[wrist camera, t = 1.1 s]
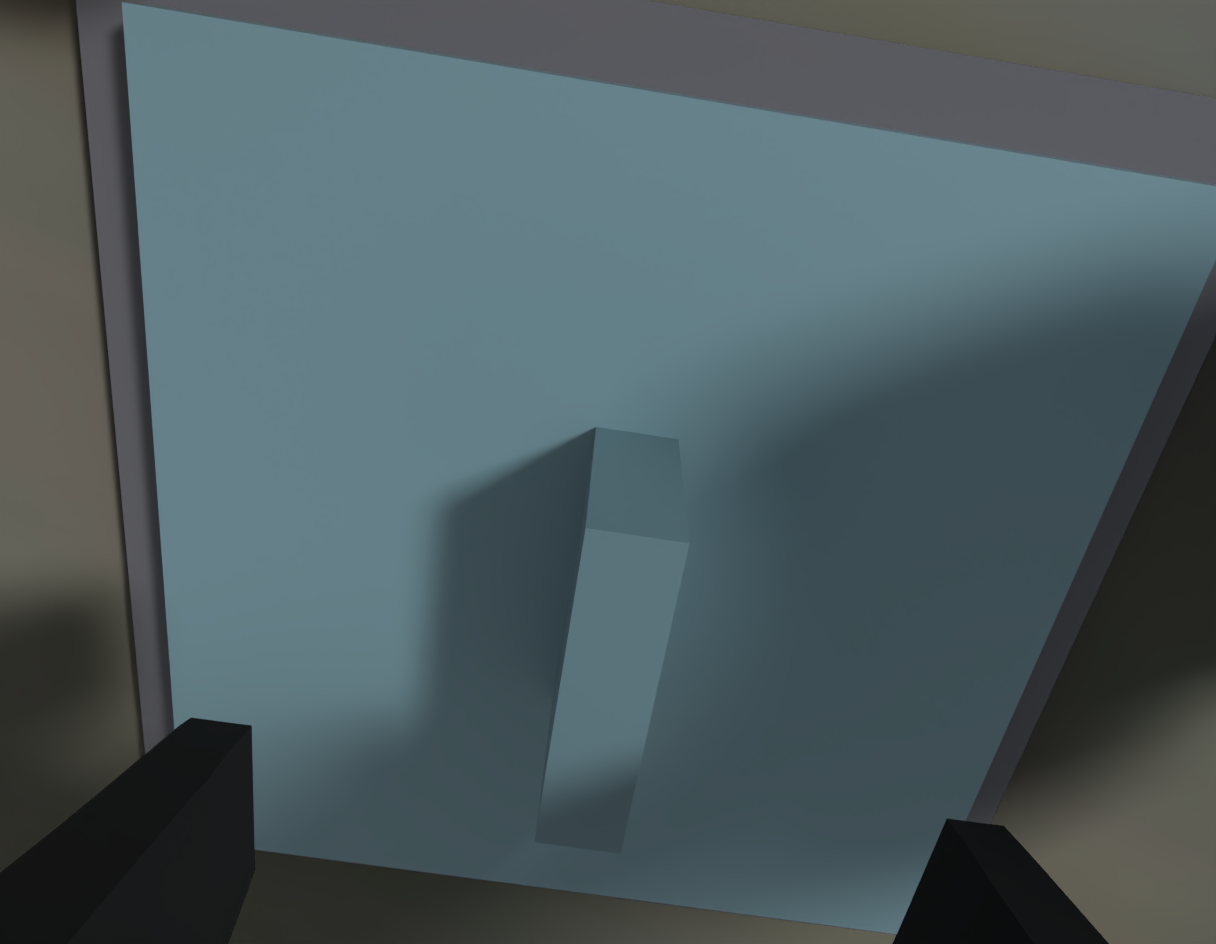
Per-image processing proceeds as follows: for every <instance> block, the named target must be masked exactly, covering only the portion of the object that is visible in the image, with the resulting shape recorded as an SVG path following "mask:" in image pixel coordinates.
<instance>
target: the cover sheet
mask: <svg viewBox="0 0 1216 944" xmlns="http://www.w3.org/2000/svg"><path fill="white" fill-rule="evenodd" d="M122 13H123V26H124V40H125V54H126V68H127V82H128V96H129V109H130V123H131V137H132V151H133V165H134V179H135V192H136V206H137V220H138V234H139V248H140V261H141V275H142V289H143V303H144V317H145V331H146V344H147V358H148V372H149V386H150V400H151V413H152V427H153V441H154V455H155V469H156V483H157V496H158V510H159V524H160V538H161V552H162V565H163V579H164V593H165V607H166V621H167V635H168V648H169V662H170V676H171V690H172V704H173V717H174V730H175V729H176V728H177V727H178V726H179V725H181V724H182V723H184V722H185V721H187V720H188V719H190V718H199V719H206V720H214V721H221V722H229V723H236V724H244V725H251V726H252V759H253V803H254V846H255V850H262V851H270V852H277V853H285V854H293V855H300V856H308V857H315V858H323V859H330V860H338V861H346V862H353V863H361V864H368V865H376V866H384V867H391V868H399V869H406V870H414V871H422V872H429V873H437V874H444V875H452V876H459V877H467V878H475V879H482V880H490V881H497V882H505V883H513V884H520V885H528V886H535V887H543V888H551V889H558V890H566V891H573V892H581V893H589V894H596V895H604V896H611V897H619V898H626V899H634V900H642V901H649V902H657V903H664V904H672V905H680V906H687V907H695V908H702V909H710V910H718V911H725V912H733V913H740V914H748V915H755V916H763V917H771V918H778V919H786V920H793V921H801V922H809V923H816V924H824V925H831V926H839V927H847V928H854V929H862V930H869V931H877V932H885V933H892V934H897V933H898V930H899V928H900V926H901V923H902V921H903V919H904V917H905V914H906V912H907V910H908V907H909V905H910V903H911V900H912V898H913V896H914V893H915V891H916V889H917V886H918V884H919V882H920V879H921V877H922V875H923V872H924V870H925V868H926V865H927V863H928V861H929V858H930V856H931V854H932V851H933V849H934V847H935V845H936V842H937V840H938V838H939V835H940V833H941V831H942V828H943V826H944V824H945V821H946V819H955V820H962V821H966V819H967V817H968V814H969V812H970V810H971V808H972V805H973V803H974V801H975V799H976V796H977V794H978V792H979V790H980V787H981V785H982V783H983V781H984V778H985V776H986V774H987V772H988V769H989V767H990V765H991V763H992V761H993V758H994V756H995V754H996V752H997V749H998V747H999V745H1000V743H1001V740H1002V738H1003V736H1004V734H1005V731H1006V729H1007V727H1008V725H1009V722H1010V720H1011V718H1012V716H1013V713H1014V711H1015V709H1016V707H1017V704H1018V702H1019V700H1020V698H1021V695H1022V693H1023V691H1024V689H1025V686H1026V684H1027V682H1028V680H1029V677H1030V675H1031V673H1032V671H1033V669H1034V666H1035V664H1036V662H1037V660H1038V657H1039V655H1040V653H1041V651H1042V648H1043V646H1044V644H1045V642H1046V639H1047V637H1048V635H1049V633H1050V630H1051V628H1052V626H1053V624H1054V621H1055V619H1056V617H1057V615H1058V612H1059V610H1060V608H1061V606H1062V603H1063V601H1064V599H1065V597H1066V594H1067V592H1068V590H1069V588H1070V585H1071V583H1072V581H1073V579H1074V577H1075V574H1076V572H1077V570H1078V568H1079V565H1080V563H1081V561H1082V559H1083V556H1084V554H1085V552H1086V550H1087V547H1088V545H1089V543H1090V541H1091V538H1092V536H1093V534H1094V532H1095V529H1096V527H1097V525H1098V523H1099V520H1100V518H1101V516H1102V514H1103V511H1104V509H1105V507H1106V505H1107V502H1108V500H1109V498H1110V496H1111V493H1112V491H1113V489H1114V487H1115V485H1116V482H1117V480H1118V478H1119V476H1120V473H1121V471H1122V469H1123V467H1124V464H1125V462H1126V460H1127V458H1128V455H1129V453H1130V451H1131V449H1132V446H1133V444H1134V442H1135V440H1136V437H1137V435H1138V433H1139V431H1140V428H1141V426H1142V424H1143V422H1144V419H1145V417H1146V415H1147V413H1148V410H1149V408H1150V406H1151V404H1152V401H1153V399H1154V397H1155V395H1156V393H1157V390H1158V388H1159V386H1160V384H1161V381H1162V379H1163V377H1164V375H1165V372H1166V370H1167V368H1168V366H1169V363H1170V361H1171V359H1172V357H1173V354H1174V352H1175V350H1176V348H1177V345H1178V343H1179V341H1180V339H1181V336H1182V334H1183V332H1184V330H1185V327H1186V325H1187V323H1188V321H1189V318H1190V316H1191V314H1192V312H1193V309H1194V307H1195V305H1196V303H1197V301H1198V298H1199V296H1200V294H1201V292H1202V289H1203V287H1204V285H1205V283H1206V280H1207V278H1208V276H1209V274H1210V271H1211V269H1212V267H1213V265H1214V262H1215V260H1216V184H1212V183H1208V182H1202V181H1196V180H1190V179H1184V178H1178V177H1172V176H1166V175H1160V174H1154V173H1148V172H1143V171H1137V170H1131V169H1125V168H1119V167H1113V166H1107V165H1101V164H1095V163H1089V162H1083V161H1077V160H1071V159H1065V158H1059V157H1054V156H1048V155H1042V154H1036V153H1030V152H1024V151H1018V150H1012V149H1006V148H1000V147H994V146H988V145H982V144H976V143H970V142H965V141H959V140H953V139H947V138H941V137H935V136H929V135H923V134H917V133H911V132H905V131H899V130H893V129H887V128H881V127H876V126H870V125H864V124H858V123H852V122H846V121H840V120H834V119H828V118H822V117H816V116H810V115H804V114H798V113H792V112H787V111H781V110H775V109H769V108H763V107H757V106H751V105H745V104H739V103H733V102H727V101H721V100H715V99H709V98H704V97H698V96H692V95H686V94H680V93H674V92H668V91H662V90H656V89H650V88H644V87H638V86H632V85H626V84H620V83H615V82H609V81H603V80H597V79H591V78H585V77H579V76H573V75H567V74H561V73H555V72H549V71H543V70H537V69H531V68H526V67H520V66H514V65H508V64H502V63H496V62H490V61H484V60H478V59H472V58H466V57H460V56H454V55H448V54H442V53H437V52H431V51H425V50H419V49H413V48H407V47H401V46H395V45H389V44H383V43H377V42H371V41H365V40H359V39H353V38H348V37H342V36H336V35H330V34H324V33H318V32H312V31H306V30H300V29H294V28H288V27H282V26H276V25H270V24H265V23H259V22H253V21H247V20H241V19H235V18H229V17H223V16H217V15H211V14H205V13H199V12H193V11H187V10H181V9H176V8H170V7H164V6H158V5H149V4H138V3H127V2H122Z"/></svg>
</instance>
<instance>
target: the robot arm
mask: <svg viewBox="0 0 1216 944" xmlns="http://www.w3.org/2000/svg"><path fill="white" fill-rule="evenodd" d="M254 871H255V846H254V803H253V759H252V726H251V725H244V724H236V723H229V722H221V721H214V720H206V719H199V718H190V719H188V720H187V721H185V722H184V723H182V724H181V725H179V726H178V727H177V728H176V729H175V730H173V731H172V732H171V733H170V734H169V735H167V736H166V737H165V738H164V739H163V740H161V741H160V742H159V743H158V744H157V745H155V746H154V747H153V748H152V749H151V750H150V751H148V752H147V753H146V754H145V755H144V756H142V757H141V758H140V759H139V760H138V761H137V762H135V763H134V764H133V765H132V766H131V767H129V768H128V769H127V770H126V771H125V772H124V773H122V774H121V775H120V776H119V777H118V778H116V779H115V780H114V781H113V782H112V783H110V784H109V785H108V786H107V787H106V788H104V789H103V790H102V791H101V792H100V793H98V794H97V795H96V796H95V797H94V798H92V799H91V800H90V801H89V802H88V803H86V804H85V805H84V806H83V807H82V808H80V809H79V810H78V811H77V812H76V813H74V814H73V815H72V816H71V817H69V818H68V819H67V820H66V821H65V822H63V823H62V824H61V825H60V826H58V827H57V828H56V829H55V830H53V831H52V832H51V833H50V834H48V835H47V836H46V837H45V838H43V839H42V840H41V841H40V842H38V843H37V844H36V845H35V846H33V847H32V848H31V849H30V850H28V851H27V852H26V853H25V854H23V855H22V856H21V857H20V858H18V859H17V860H16V861H14V862H13V863H12V864H11V865H9V866H8V867H7V868H6V869H4V870H3V871H2V872H1V873H0V944H228V942H229V940H230V937H231V934H232V932H233V929H234V926H235V924H236V921H237V918H238V915H239V913H240V910H241V907H242V904H243V901H244V899H245V896H246V893H247V890H248V887H249V885H250V882H251V879H252V876H253V874H254ZM893 944H1109V943H1108V942H1107V941H1106V940H1105V939H1104V938H1103V937H1102V935H1101V934H1100V933H1099V932H1098V931H1097V930H1096V929H1095V928H1094V926H1093V925H1092V924H1091V923H1090V922H1089V921H1088V920H1087V918H1086V917H1085V916H1084V915H1083V914H1082V913H1081V912H1080V910H1079V909H1078V908H1077V907H1076V906H1075V905H1074V904H1073V903H1072V901H1071V900H1070V899H1069V898H1068V897H1067V896H1066V895H1065V893H1064V892H1063V891H1062V890H1061V889H1060V888H1059V887H1058V885H1057V884H1056V883H1055V882H1054V881H1053V880H1052V879H1051V878H1050V876H1049V875H1048V874H1047V873H1046V872H1045V871H1044V870H1043V869H1042V867H1041V866H1040V865H1039V864H1038V863H1037V862H1036V861H1035V860H1034V858H1033V857H1032V856H1031V855H1030V854H1029V853H1028V852H1027V851H1026V850H1025V848H1024V847H1023V846H1022V845H1021V844H1020V843H1019V842H1018V841H1017V840H1016V839H1015V838H1014V837H1013V835H1012V834H1011V833H1010V832H1009V831H1008V830H1007V829H1006V828H1005V827H1004V826H1000V825H992V824H985V823H977V822H970V821H962V820H955V819H946V821H945V824H944V826H943V828H942V831H941V833H940V835H939V838H938V840H937V842H936V845H935V847H934V849H933V851H932V854H931V856H930V858H929V861H928V863H927V865H926V868H925V870H924V872H923V875H922V877H921V879H920V882H919V884H918V886H917V889H916V891H915V893H914V896H913V898H912V900H911V903H910V905H909V907H908V910H907V912H906V914H905V917H904V919H903V921H902V923H901V926H900V928H899V930H898V933H897V935H896V937H895V940H894V942H893Z"/></svg>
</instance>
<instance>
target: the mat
mask: <svg viewBox="0 0 1216 944" xmlns="http://www.w3.org/2000/svg"><path fill="white" fill-rule="evenodd" d="M122 2H127V3H138V4H149V5H158V6H164V7H170V8H176V9H181V10H187V11H193V12H199V13H205V14H211V15H217V16H223V17H229V18H235V19H241V20H247V21H253V22H259V23H265V24H270V25H276V26H282V27H288V28H294V29H300V30H306V31H312V32H318V33H324V34H330V35H336V36H342V37H348V38H353V39H359V40H365V41H371V42H377V43H383V44H389V45H395V46H401V47H407V48H413V49H419V50H425V51H431V52H437V53H442V54H448V55H454V56H460V57H466V58H472V59H478V60H484V61H490V62H496V63H502V64H508V65H514V66H520V67H526V68H531V69H537V70H543V71H549V72H555V73H561V74H567V75H573V76H579V77H585V78H591V79H597V80H603V81H609V82H615V83H620V84H626V85H632V86H638V87H644V88H650V89H656V90H662V91H668V92H674V93H680V94H686V95H692V96H698V97H704V98H709V99H715V100H721V101H727V102H733V103H739V104H745V105H751V106H757V107H763V108H769V109H775V110H781V111H787V112H792V113H798V114H804V115H810V116H816V117H822V118H828V119H834V120H840V121H846V122H852V123H858V124H864V125H870V126H876V127H881V128H887V129H893V130H899V131H905V132H911V133H917V134H923V135H929V136H935V137H941V138H947V139H953V140H959V141H965V142H970V143H976V144H982V145H988V146H994V147H1000V148H1006V149H1012V150H1018V151H1024V152H1030V153H1036V154H1042V155H1048V156H1054V157H1059V158H1065V159H1071V160H1077V161H1083V162H1089V163H1095V164H1101V165H1107V166H1113V167H1119V168H1125V169H1131V170H1137V171H1143V172H1148V173H1154V174H1160V175H1166V176H1172V177H1178V178H1184V179H1190V180H1196V181H1202V182H1208V183H1212V184H1216V98H1212V97H1206V96H1200V95H1194V94H1188V93H1183V92H1177V91H1171V90H1165V89H1159V88H1154V87H1148V86H1142V85H1136V84H1130V83H1125V82H1119V81H1113V80H1107V79H1101V78H1096V77H1090V76H1084V75H1078V74H1073V73H1067V72H1061V71H1055V70H1049V69H1044V68H1038V67H1032V66H1026V65H1020V64H1015V63H1009V62H1003V61H997V60H991V59H986V58H980V57H974V56H968V55H962V54H957V53H951V52H945V51H939V50H933V49H928V48H922V47H916V46H910V45H904V44H899V43H893V42H887V41H881V40H875V39H870V38H864V37H858V36H852V35H846V34H841V33H835V32H829V31H823V30H818V29H812V28H806V27H800V26H794V25H789V24H783V23H777V22H771V21H765V20H760V19H754V18H748V17H742V16H736V15H731V14H725V13H719V12H713V11H707V10H702V9H696V8H690V7H684V6H678V5H673V4H667V3H661V2H655V1H649V0H76V8H77V19H78V30H79V41H80V52H81V63H82V74H83V85H84V95H85V106H86V117H87V128H88V139H89V150H90V161H91V172H92V182H93V193H94V204H95V215H96V226H97V237H98V248H99V259H100V269H101V280H102V291H103V302H104V313H105V324H106V335H107V345H108V356H109V367H110V378H111V389H112V400H113V411H114V422H115V432H116V443H117V454H118V465H119V476H120V487H121V498H122V509H123V519H124V530H125V541H126V552H127V563H128V574H129V585H130V595H131V606H132V617H133V628H134V639H135V650H136V661H137V672H138V682H139V693H140V704H141V715H142V726H143V737H144V748H145V754H146V753H147V752H148V751H150V750H151V749H152V748H153V747H154V746H155V745H157V744H158V743H159V742H160V741H161V740H163V739H164V738H165V737H166V736H167V735H169V734H170V733H171V732H172V731H173V730H174V717H173V704H172V690H171V676H170V662H169V648H168V635H167V621H166V607H165V593H164V579H163V565H162V552H161V538H160V524H159V510H158V496H157V483H156V469H155V455H154V441H153V427H152V413H151V400H150V386H149V372H148V358H147V344H146V331H145V317H144V303H143V289H142V275H141V261H140V248H139V234H138V220H137V206H136V192H135V179H134V165H133V151H132V137H131V123H130V109H129V96H128V82H127V68H126V54H125V40H124V26H123V13H122ZM1215 336H1216V260H1215V262H1214V265H1213V267H1212V269H1211V271H1210V274H1209V276H1208V278H1207V280H1206V283H1205V285H1204V287H1203V289H1202V292H1201V294H1200V296H1199V298H1198V301H1197V303H1196V305H1195V307H1194V309H1193V312H1192V314H1191V316H1190V318H1189V321H1188V323H1187V325H1186V327H1185V330H1184V332H1183V334H1182V336H1181V339H1180V341H1179V343H1178V345H1177V348H1176V350H1175V352H1174V354H1173V357H1172V359H1171V361H1170V363H1169V366H1168V368H1167V370H1166V372H1165V375H1164V377H1163V379H1162V381H1161V384H1160V386H1159V388H1158V390H1157V393H1156V395H1155V397H1154V399H1153V401H1152V404H1151V406H1150V408H1149V410H1148V413H1147V415H1146V417H1145V419H1144V422H1143V424H1142V426H1141V428H1140V431H1139V433H1138V435H1137V437H1136V440H1135V442H1134V444H1133V446H1132V449H1131V451H1130V453H1129V455H1128V458H1127V460H1126V462H1125V464H1124V467H1123V469H1122V471H1121V473H1120V476H1119V478H1118V480H1117V482H1116V485H1115V487H1114V489H1113V491H1112V493H1111V496H1110V498H1109V500H1108V502H1107V505H1106V507H1105V509H1104V511H1103V514H1102V516H1101V518H1100V520H1099V523H1098V525H1097V527H1096V529H1095V532H1094V534H1093V536H1092V538H1091V541H1090V543H1089V545H1088V547H1087V550H1086V552H1085V554H1084V556H1083V559H1082V561H1081V563H1080V565H1079V568H1078V570H1077V572H1076V574H1075V577H1074V579H1073V581H1072V583H1071V585H1070V588H1069V590H1068V592H1067V594H1066V597H1065V599H1064V601H1063V603H1062V606H1061V608H1060V610H1059V612H1058V615H1057V617H1056V619H1055V621H1054V624H1053V626H1052V628H1051V630H1050V633H1049V635H1048V637H1047V639H1046V642H1045V644H1044V646H1043V648H1042V651H1041V653H1040V655H1039V657H1038V660H1037V662H1036V664H1035V666H1034V669H1033V671H1032V673H1031V675H1030V677H1029V680H1028V682H1027V684H1026V686H1025V689H1024V691H1023V693H1022V695H1021V698H1020V700H1019V702H1018V704H1017V707H1016V709H1015V711H1014V713H1013V716H1012V718H1011V720H1010V722H1009V725H1008V727H1007V729H1006V731H1005V734H1004V736H1003V738H1002V740H1001V743H1000V745H999V747H998V749H997V752H996V754H995V756H994V758H993V761H992V763H991V765H990V767H989V769H988V772H987V774H986V776H985V778H984V781H983V783H982V785H981V787H980V790H979V792H978V794H977V796H976V799H975V801H974V803H973V805H972V808H971V810H970V812H969V814H968V817H967V819H966V821H970V822H977V823H985V824H990V823H991V820H992V818H993V816H994V814H995V812H996V810H997V807H998V805H999V803H1000V801H1001V799H1002V797H1003V794H1004V792H1005V790H1006V788H1007V786H1008V784H1009V781H1010V779H1011V777H1012V775H1013V773H1014V771H1015V769H1016V766H1017V764H1018V762H1019V760H1020V758H1021V756H1022V753H1023V751H1024V749H1025V747H1026V745H1027V743H1028V740H1029V738H1030V736H1031V734H1032V732H1033V730H1034V727H1035V725H1036V723H1037V721H1038V719H1039V717H1040V714H1041V712H1042V710H1043V708H1044V706H1045V704H1046V702H1047V699H1048V697H1049V695H1050V693H1051V691H1052V689H1053V686H1054V684H1055V682H1056V680H1057V678H1058V676H1059V673H1060V671H1061V669H1062V667H1063V665H1064V663H1065V660H1066V658H1067V656H1068V654H1069V652H1070V650H1071V647H1072V645H1073V643H1074V641H1075V639H1076V637H1077V634H1078V632H1079V630H1080V628H1081V626H1082V624H1083V622H1084V619H1085V617H1086V615H1087V613H1088V611H1089V609H1090V606H1091V604H1092V602H1093V600H1094V598H1095V596H1096V593H1097V591H1098V589H1099V587H1100V585H1101V583H1102V580H1103V578H1104V576H1105V574H1106V572H1107V570H1108V567H1109V565H1110V563H1111V561H1112V559H1113V557H1114V555H1115V552H1116V550H1117V548H1118V546H1119V544H1120V542H1121V539H1122V537H1123V535H1124V533H1125V531H1126V529H1127V526H1128V524H1129V522H1130V520H1131V518H1132V516H1133V513H1134V511H1135V509H1136V507H1137V505H1138V503H1139V500H1140V498H1141V496H1142V494H1143V492H1144V490H1145V487H1146V485H1147V483H1148V481H1149V479H1150V477H1151V475H1152V472H1153V470H1154V468H1155V466H1156V464H1157V462H1158V459H1159V457H1160V455H1161V453H1162V451H1163V449H1164V446H1165V444H1166V442H1167V440H1168V438H1169V436H1170V433H1171V431H1172V429H1173V427H1174V425H1175V423H1176V420H1177V418H1178V416H1179V414H1180V412H1181V410H1182V408H1183V405H1184V403H1185V401H1186V399H1187V397H1188V395H1189V392H1190V390H1191V388H1192V386H1193V384H1194V382H1195V379H1196V377H1197V375H1198V373H1199V371H1200V369H1201V366H1202V364H1203V362H1204V360H1205V358H1206V356H1207V353H1208V351H1209V349H1210V347H1211V345H1212V343H1213V341H1214V338H1215ZM255 851H262V850H255ZM262 852H270V851H262ZM270 853H277V852H270ZM277 854H285V853H277ZM285 855H292V856H300V855H293V854H285ZM300 857H308V856H300ZM308 858H315V857H308ZM315 859H323V858H315ZM323 860H330V859H323ZM330 861H338V860H330ZM338 862H346V861H338ZM346 863H353V862H346ZM353 864H361V863H353ZM361 865H368V864H361ZM368 866H376V865H368ZM376 867H384V866H376ZM384 868H391V867H384ZM391 869H399V868H391ZM399 870H406V869H399ZM406 871H414V870H406ZM414 872H422V871H414ZM422 873H429V872H422ZM429 874H437V873H429ZM437 875H444V874H437ZM444 876H452V875H444ZM452 877H459V876H452ZM460 878H467V877H460ZM467 879H475V878H467ZM475 880H482V879H475ZM482 881H490V880H482ZM490 882H497V881H490ZM497 883H505V882H497ZM505 884H513V883H505ZM513 885H520V884H513ZM520 886H528V885H520ZM528 887H535V886H528ZM535 888H543V887H535ZM543 889H551V888H543ZM551 890H558V889H551ZM558 891H566V890H558ZM566 892H573V891H566ZM573 893H581V892H573ZM581 894H589V893H581ZM589 895H596V894H589ZM596 896H604V895H596ZM604 897H611V896H604ZM611 898H619V897H611ZM619 899H626V898H619ZM627 900H634V899H627ZM634 901H642V900H634ZM642 902H649V901H642ZM649 903H657V902H649ZM657 904H664V903H657ZM665 905H672V904H665ZM672 906H680V905H672ZM680 907H687V906H680ZM687 908H695V907H687ZM695 909H702V908H695ZM702 910H710V909H702ZM710 911H718V910H710ZM718 912H725V911H718ZM725 913H733V912H725ZM733 914H740V913H733ZM740 915H748V914H740ZM748 916H755V915H748ZM756 917H763V916H756ZM763 918H771V917H763ZM771 919H778V918H771ZM778 920H786V919H778ZM786 921H793V920H786ZM794 922H801V921H794ZM801 923H809V922H801ZM809 924H816V923H809ZM816 925H824V924H816ZM824 926H831V925H824ZM832 927H839V926H832ZM839 928H847V927H839ZM847 929H854V928H847ZM854 930H862V929H854ZM862 931H869V930H862ZM870 932H877V931H870ZM877 933H885V932H877ZM885 934H892V933H885ZM892 935H897V934H892Z"/></svg>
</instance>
